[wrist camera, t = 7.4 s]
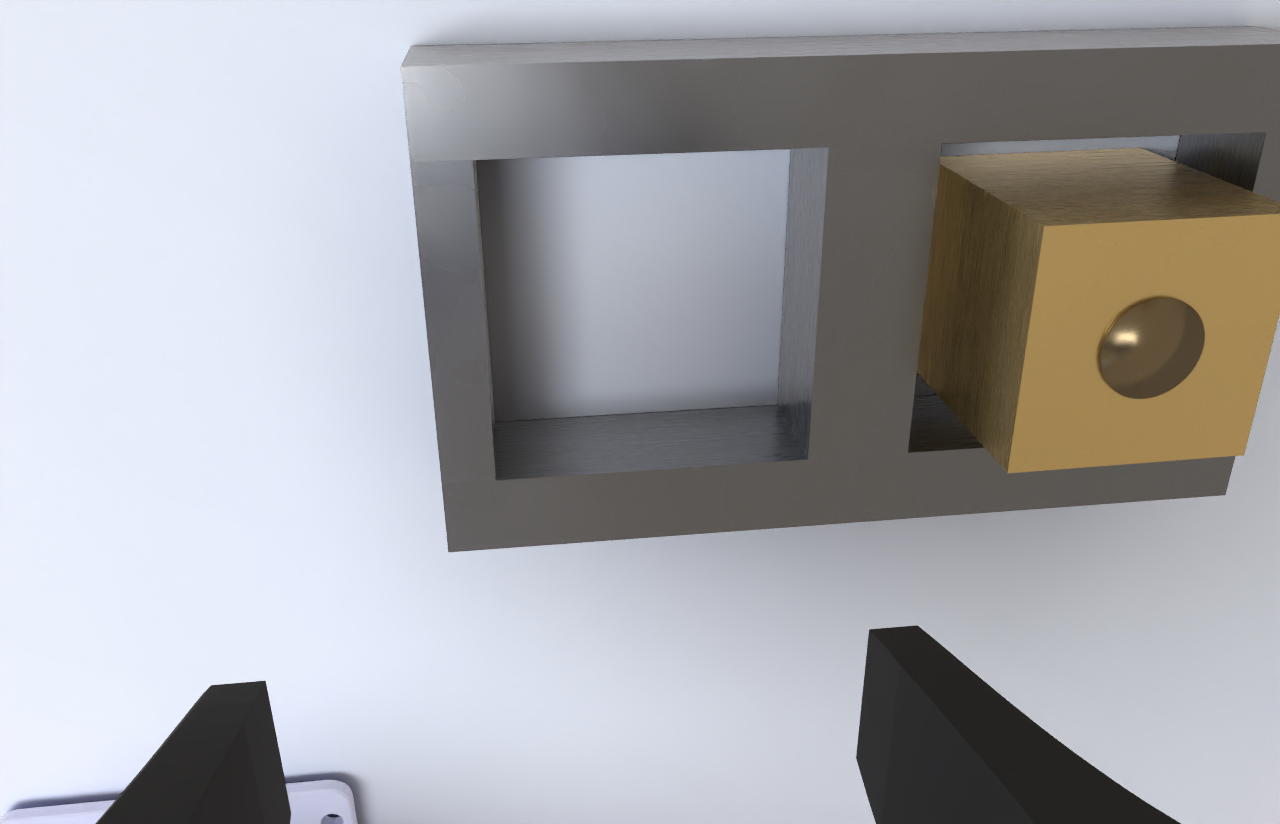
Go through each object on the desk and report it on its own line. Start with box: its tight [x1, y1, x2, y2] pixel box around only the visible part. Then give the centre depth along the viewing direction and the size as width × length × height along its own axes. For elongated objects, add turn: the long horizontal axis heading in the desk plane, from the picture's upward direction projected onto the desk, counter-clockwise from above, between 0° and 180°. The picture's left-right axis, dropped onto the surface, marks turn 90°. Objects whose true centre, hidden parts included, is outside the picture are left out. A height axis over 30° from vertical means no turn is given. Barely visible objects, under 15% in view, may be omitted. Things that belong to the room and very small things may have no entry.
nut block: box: [917, 148, 1280, 473], centre depth 20 cm, size 4×4×5 cm
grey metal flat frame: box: [401, 26, 1280, 552], centre depth 21 cm, size 9×16×2 cm, turn 90°
